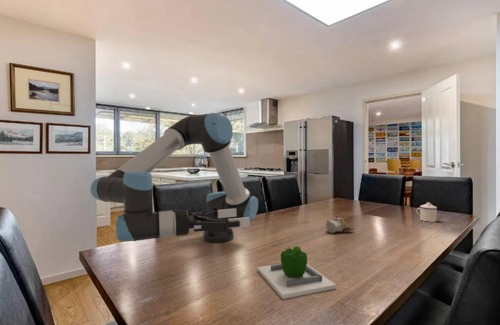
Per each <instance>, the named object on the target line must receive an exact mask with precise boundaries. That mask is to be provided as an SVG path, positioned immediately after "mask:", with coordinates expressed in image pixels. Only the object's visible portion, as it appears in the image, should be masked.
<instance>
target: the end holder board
mask: <svg viewBox="0 0 500 325" xmlns="http://www.w3.org/2000/svg"><path fill="white" fill-rule="evenodd" d="M257 272H258V273H259V274H260V276H262V277H263V278H264V280H265V281H266V282H267V284H269V285H270V286H271V288H272V289H273V290H274V291H275V292H276V294H278V296H279V297H280V298H281V299H282V300H285V299H289V298H295V297H299V296H305V295H311V294H315V293H321V292H326V291H329V290H334V289H335V290H336V288H337V284H336V283H334V282H333V281H331V280H330V279H329V278H327V277H326V276H325V275H323V274H321V273H320V272H319V271H318V270H316V269H315V268H313V267H312V266H310V265H309V264H308V263H307V265H306V269H305V273H304V274H303V276H302V277H300V278H296V277H288V276H286V275H285V273H284V272H283V268H282V264H281V263H278V264H270V265H262V266H258V267H257Z"/></svg>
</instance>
